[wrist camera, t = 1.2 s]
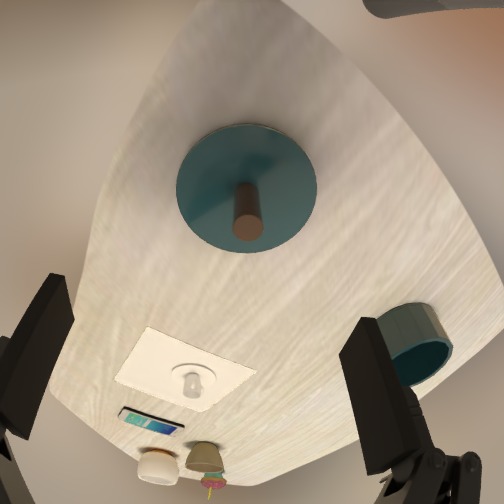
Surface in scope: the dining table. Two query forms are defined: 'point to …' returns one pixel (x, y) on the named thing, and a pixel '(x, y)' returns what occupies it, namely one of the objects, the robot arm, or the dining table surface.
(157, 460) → the cup
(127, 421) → the smartphone
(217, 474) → the cupcake
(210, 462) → the flower pot
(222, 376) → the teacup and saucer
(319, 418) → the dining table surface
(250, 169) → the lid
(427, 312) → the bowl
